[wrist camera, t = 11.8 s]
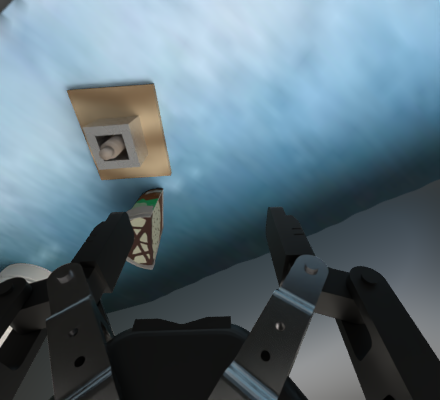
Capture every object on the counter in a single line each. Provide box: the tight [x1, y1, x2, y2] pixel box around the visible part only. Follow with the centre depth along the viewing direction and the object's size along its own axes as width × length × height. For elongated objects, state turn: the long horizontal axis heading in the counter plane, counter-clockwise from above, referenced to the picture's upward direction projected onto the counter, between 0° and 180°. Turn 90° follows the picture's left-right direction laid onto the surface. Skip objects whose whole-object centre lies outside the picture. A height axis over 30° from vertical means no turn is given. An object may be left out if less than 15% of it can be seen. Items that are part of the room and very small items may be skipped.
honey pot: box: [0, 263, 51, 347], centre depth 46 cm, size 13×13×18 cm
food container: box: [126, 188, 163, 270], centre depth 39 cm, size 12×6×10 cm, turn 172°
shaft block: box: [67, 84, 171, 180], centre depth 32 cm, size 14×12×8 cm
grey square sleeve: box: [82, 116, 148, 170], centre depth 33 cm, size 6×6×5 cm
